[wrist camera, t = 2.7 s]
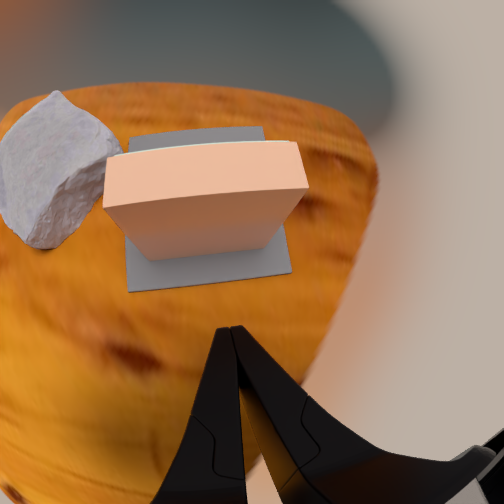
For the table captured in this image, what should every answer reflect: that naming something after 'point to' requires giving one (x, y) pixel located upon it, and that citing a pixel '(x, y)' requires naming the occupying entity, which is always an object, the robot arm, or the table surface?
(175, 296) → the table surface
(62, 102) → the stone block
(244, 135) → the mat
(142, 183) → the tile
